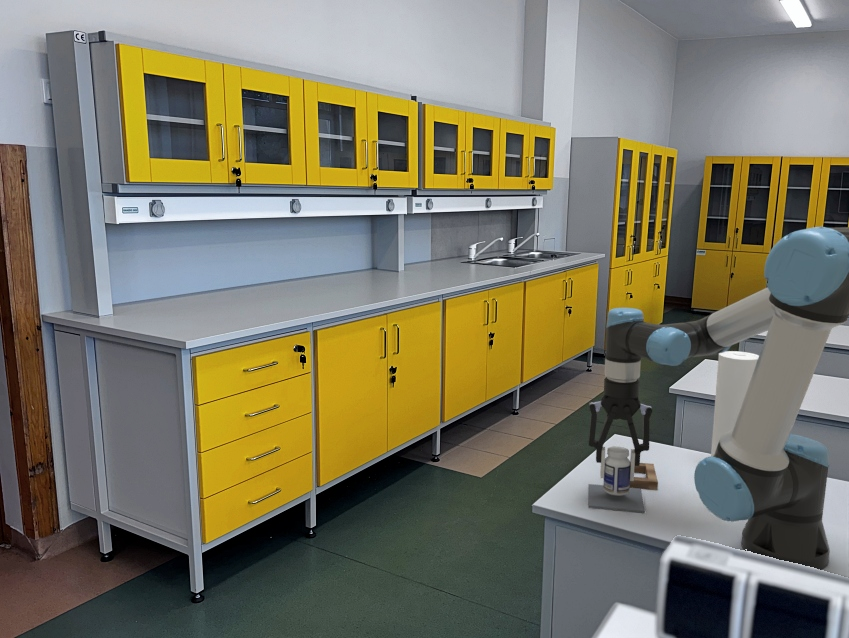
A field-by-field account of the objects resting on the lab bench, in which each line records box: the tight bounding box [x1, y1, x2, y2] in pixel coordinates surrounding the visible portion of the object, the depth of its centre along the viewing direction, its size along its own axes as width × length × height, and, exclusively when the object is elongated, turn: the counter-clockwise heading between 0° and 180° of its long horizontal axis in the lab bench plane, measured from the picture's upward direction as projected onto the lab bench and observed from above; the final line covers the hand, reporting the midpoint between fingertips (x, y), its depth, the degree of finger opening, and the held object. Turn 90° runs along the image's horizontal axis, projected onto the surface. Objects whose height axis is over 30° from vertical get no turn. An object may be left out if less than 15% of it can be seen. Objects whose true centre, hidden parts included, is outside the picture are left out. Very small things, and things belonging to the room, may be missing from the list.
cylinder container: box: [710, 350, 760, 457], centre depth 173 cm, size 9×9×30 cm
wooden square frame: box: [629, 462, 659, 491], centre depth 169 cm, size 12×12×2 cm
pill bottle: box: [602, 445, 631, 496], centre depth 157 cm, size 6×6×10 cm
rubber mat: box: [587, 483, 646, 514], centre depth 158 cm, size 12×12×1 cm
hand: (616, 477), depth 157 cm, fingers closed on pill bottle, 6 cm apart
